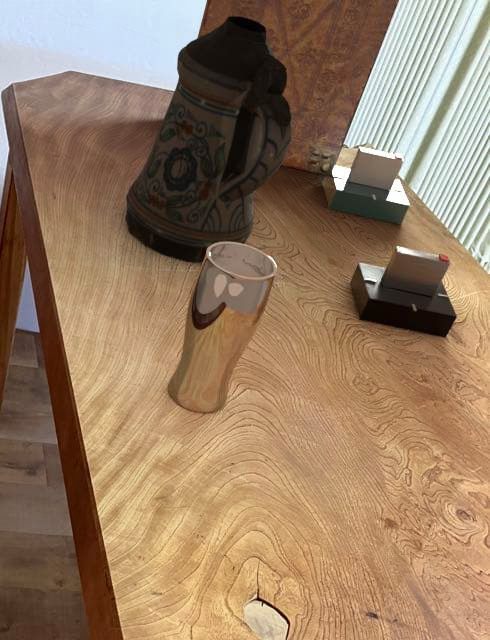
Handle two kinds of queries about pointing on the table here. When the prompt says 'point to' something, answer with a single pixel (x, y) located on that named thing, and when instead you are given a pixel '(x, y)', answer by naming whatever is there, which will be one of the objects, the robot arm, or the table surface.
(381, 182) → the cold tap
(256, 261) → the beer glass
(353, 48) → the book
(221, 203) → the beer stein
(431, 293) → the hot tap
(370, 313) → the base
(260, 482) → the table surface
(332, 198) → the base
